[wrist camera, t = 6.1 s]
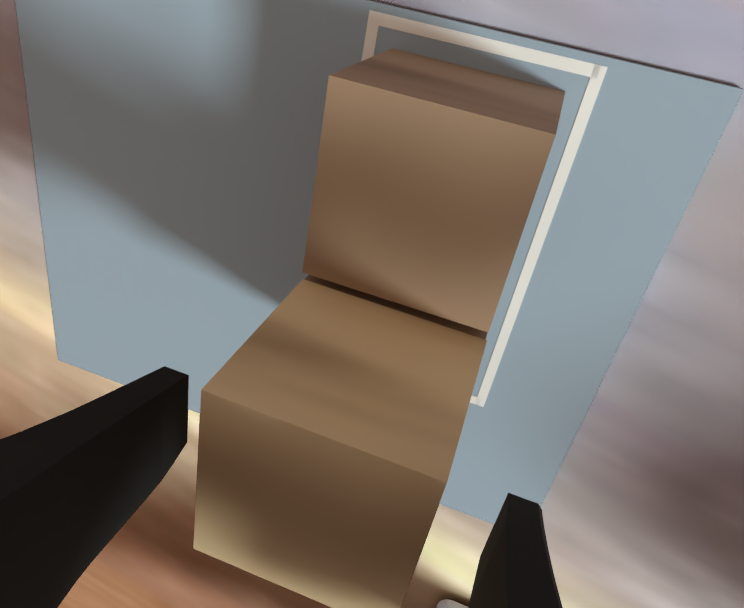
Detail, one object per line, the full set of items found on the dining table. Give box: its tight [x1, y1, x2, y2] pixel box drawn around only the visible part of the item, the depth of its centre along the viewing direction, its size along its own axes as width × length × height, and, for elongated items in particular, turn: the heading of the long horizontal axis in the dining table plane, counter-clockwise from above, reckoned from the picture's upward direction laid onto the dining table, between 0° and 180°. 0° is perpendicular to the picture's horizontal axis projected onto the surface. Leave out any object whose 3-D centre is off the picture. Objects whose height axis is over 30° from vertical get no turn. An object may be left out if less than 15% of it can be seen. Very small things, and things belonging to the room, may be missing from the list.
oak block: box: [193, 279, 487, 608], centre depth 13 cm, size 4×4×4 cm
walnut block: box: [303, 48, 565, 332], centre depth 15 cm, size 4×4×4 cm
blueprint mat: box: [15, 0, 744, 524], centre depth 20 cm, size 16×20×1 cm
